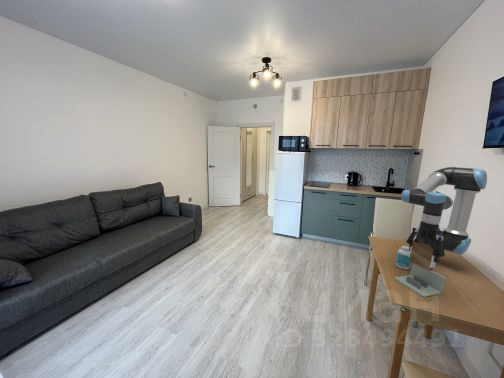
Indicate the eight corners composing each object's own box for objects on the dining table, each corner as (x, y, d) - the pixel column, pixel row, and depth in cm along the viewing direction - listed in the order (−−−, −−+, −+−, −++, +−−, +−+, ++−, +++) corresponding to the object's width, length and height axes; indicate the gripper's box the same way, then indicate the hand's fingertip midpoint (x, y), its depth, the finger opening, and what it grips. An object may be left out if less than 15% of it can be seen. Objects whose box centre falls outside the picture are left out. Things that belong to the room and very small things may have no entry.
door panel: (412, 260, 118) (417, 240, 116) (432, 270, 109) (437, 248, 107) (409, 261, 118) (413, 241, 115) (428, 271, 108) (433, 249, 106)
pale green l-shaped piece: (411, 275, 126) (414, 261, 124) (442, 293, 111) (446, 277, 109) (394, 278, 121) (397, 264, 120) (423, 297, 106) (427, 281, 105)
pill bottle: (411, 271, 131) (415, 250, 129) (398, 269, 132) (402, 249, 130) (405, 264, 138) (409, 245, 136) (393, 263, 140) (396, 244, 137)
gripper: (403, 215, 118) (396, 252, 122) (451, 230, 97) (440, 274, 101) (413, 215, 121) (405, 251, 125) (461, 229, 100) (450, 272, 104)
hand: (421, 261), depth 113 cm, fingers closed on door panel, 10 cm apart
